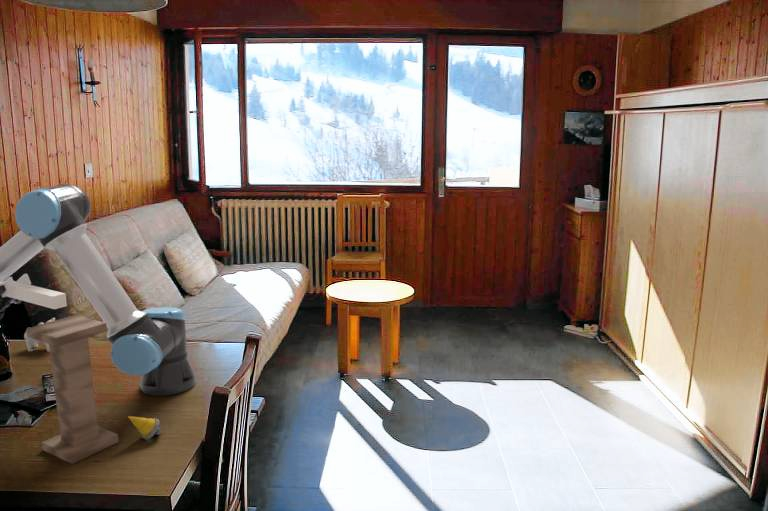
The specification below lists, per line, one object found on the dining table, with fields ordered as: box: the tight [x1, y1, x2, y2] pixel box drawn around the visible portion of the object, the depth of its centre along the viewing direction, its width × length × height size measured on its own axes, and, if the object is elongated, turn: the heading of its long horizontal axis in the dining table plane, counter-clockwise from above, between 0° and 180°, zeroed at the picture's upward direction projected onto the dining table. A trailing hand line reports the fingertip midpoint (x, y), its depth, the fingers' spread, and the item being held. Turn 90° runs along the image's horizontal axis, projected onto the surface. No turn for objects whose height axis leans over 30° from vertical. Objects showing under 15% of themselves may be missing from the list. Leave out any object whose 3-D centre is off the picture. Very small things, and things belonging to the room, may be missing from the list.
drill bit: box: [127, 415, 162, 441], centre depth 161 cm, size 5×5×10 cm
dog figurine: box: [23, 317, 56, 353], centre depth 222 cm, size 5×13×11 cm, turn 88°
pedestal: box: [25, 314, 120, 465], centre depth 155 cm, size 12×12×30 cm
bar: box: [0, 280, 68, 310], centre depth 158 cm, size 24×3×3 cm, turn 57°
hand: (20, 280), depth 159 cm, fingers closed on bar, 3 cm apart
